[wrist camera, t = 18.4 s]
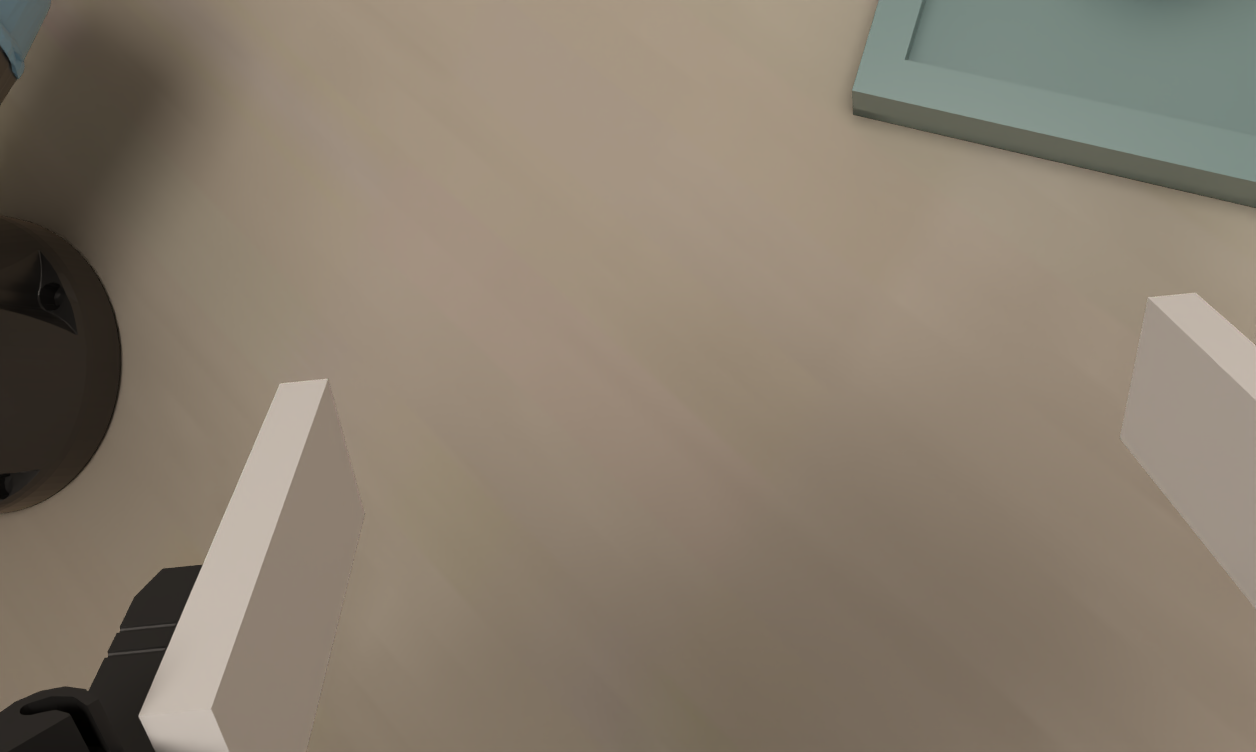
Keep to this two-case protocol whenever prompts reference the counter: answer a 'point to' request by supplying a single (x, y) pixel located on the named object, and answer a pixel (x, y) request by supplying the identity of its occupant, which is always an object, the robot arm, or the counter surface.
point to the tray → (1077, 83)
